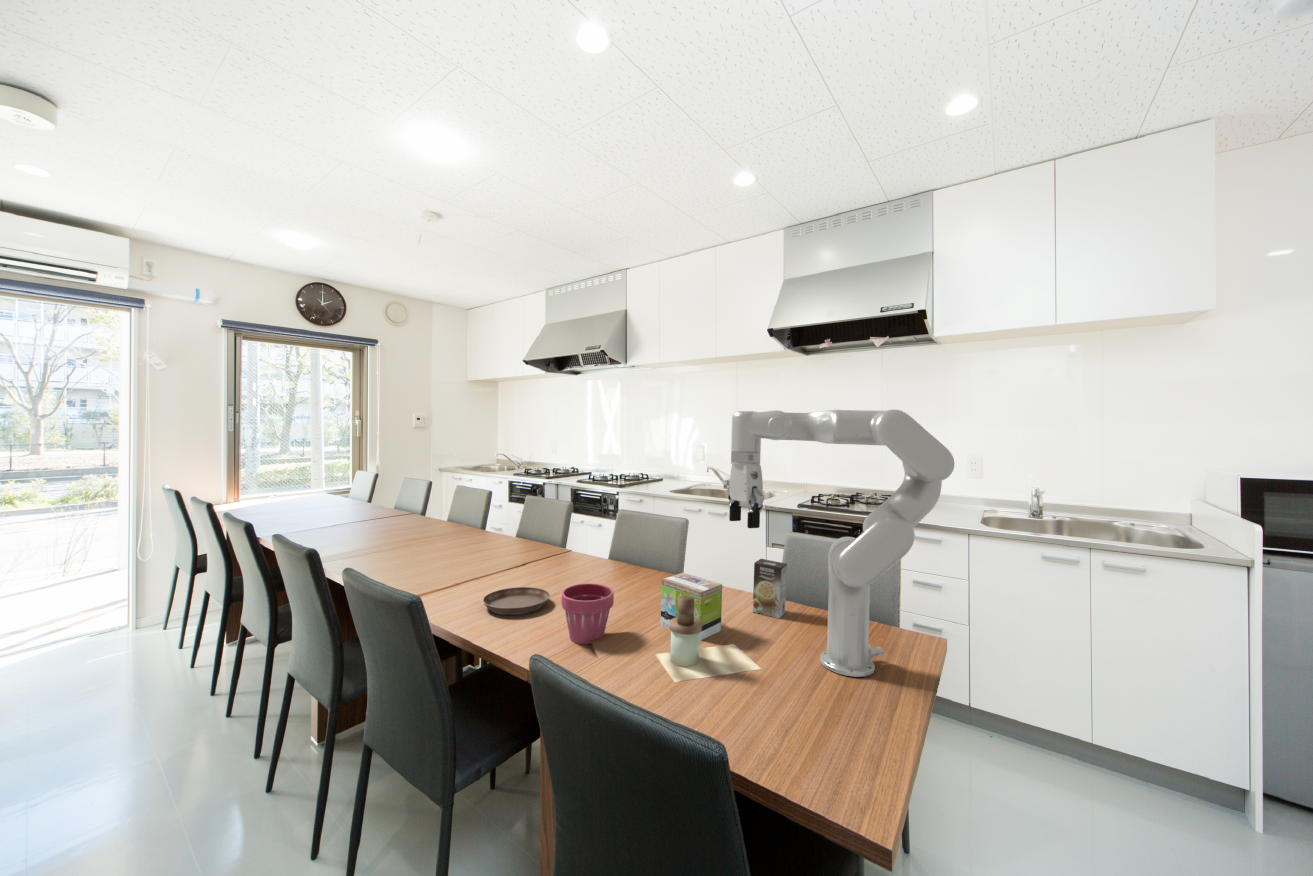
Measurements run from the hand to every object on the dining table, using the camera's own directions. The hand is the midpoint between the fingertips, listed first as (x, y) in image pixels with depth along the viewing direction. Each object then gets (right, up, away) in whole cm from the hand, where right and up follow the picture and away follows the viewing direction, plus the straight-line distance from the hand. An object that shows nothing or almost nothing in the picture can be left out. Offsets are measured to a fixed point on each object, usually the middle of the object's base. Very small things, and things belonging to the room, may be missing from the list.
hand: (743, 524), depth 126 cm
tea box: (-13, -33, +12) cm, 38 cm away
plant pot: (-42, -33, +7) cm, 53 cm away
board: (-11, -33, -8) cm, 36 cm away
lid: (-16, -24, -8) cm, 30 cm away
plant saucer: (-68, -32, +29) cm, 80 cm away
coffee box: (+13, -34, +28) cm, 46 cm away
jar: (-16, -32, -8) cm, 36 cm away
